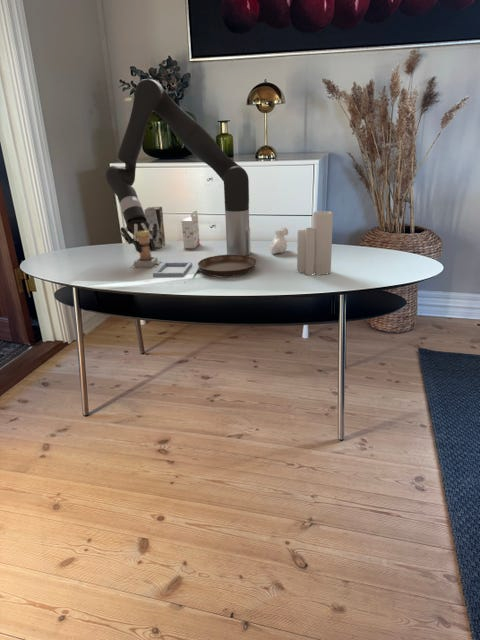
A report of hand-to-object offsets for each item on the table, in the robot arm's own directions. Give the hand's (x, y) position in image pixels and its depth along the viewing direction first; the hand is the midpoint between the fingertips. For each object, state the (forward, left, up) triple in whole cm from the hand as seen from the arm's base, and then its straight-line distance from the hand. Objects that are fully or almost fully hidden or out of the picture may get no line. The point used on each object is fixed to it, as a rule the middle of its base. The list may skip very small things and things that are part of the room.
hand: (146, 250), depth 170 cm
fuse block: (+1, -2, -7) cm, 7 cm away
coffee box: (+8, -40, -7) cm, 41 cm away
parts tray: (-11, +6, -7) cm, 14 cm away
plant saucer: (-29, 0, -8) cm, 30 cm away
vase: (-59, +3, -7) cm, 59 cm away
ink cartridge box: (-8, -38, -7) cm, 39 cm away
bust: (-46, -26, -7) cm, 53 cm away
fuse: (+1, -2, -6) cm, 6 cm away
